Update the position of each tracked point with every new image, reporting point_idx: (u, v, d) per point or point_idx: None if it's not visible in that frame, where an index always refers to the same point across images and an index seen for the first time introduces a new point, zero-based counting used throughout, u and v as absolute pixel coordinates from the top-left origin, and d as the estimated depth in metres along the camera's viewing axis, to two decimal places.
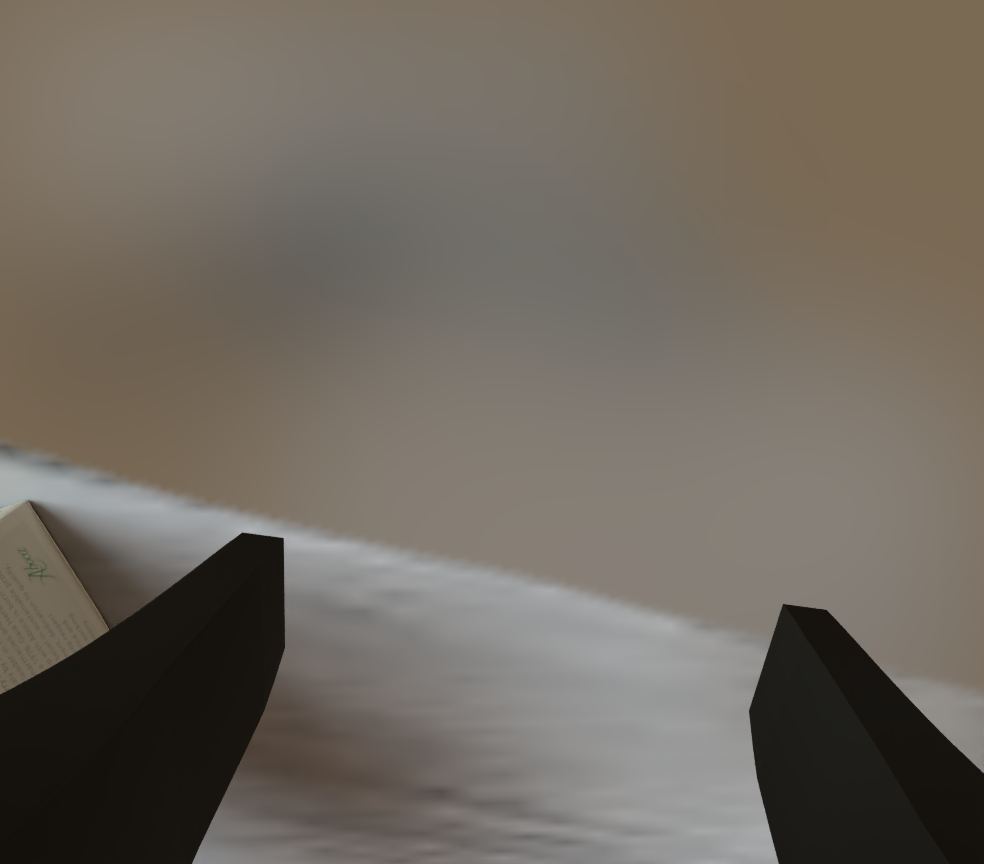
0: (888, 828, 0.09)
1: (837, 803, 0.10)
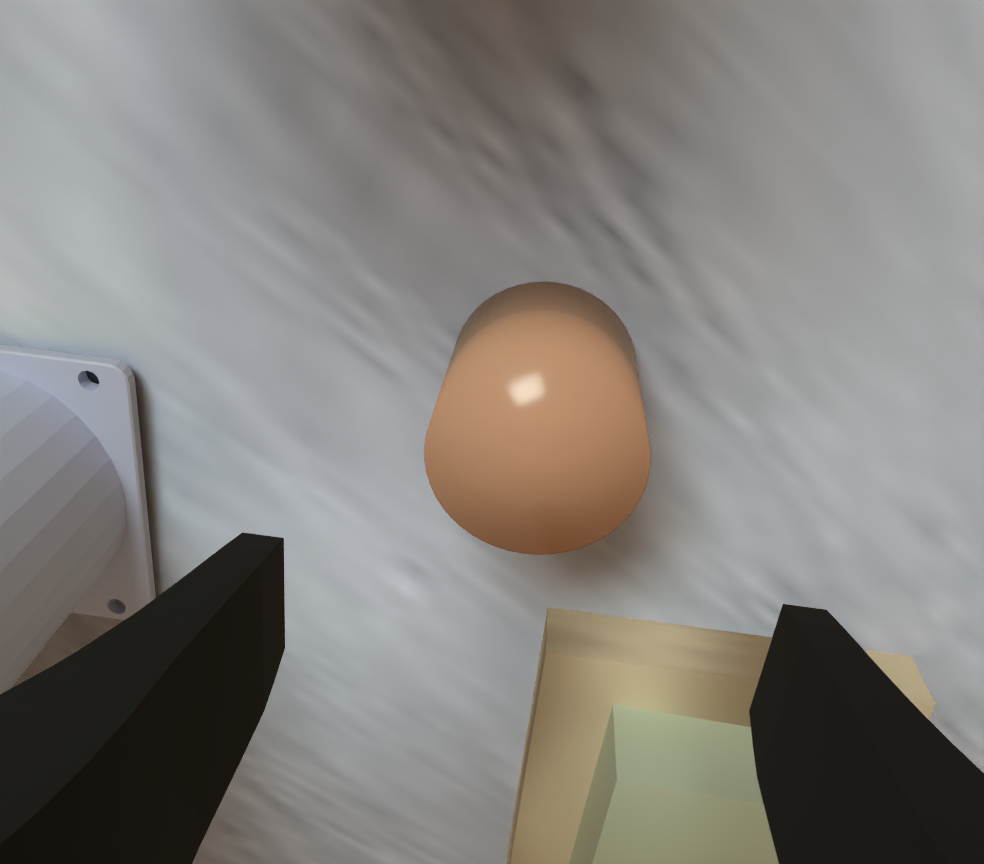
0: (888, 828, 0.09)
1: (837, 803, 0.10)
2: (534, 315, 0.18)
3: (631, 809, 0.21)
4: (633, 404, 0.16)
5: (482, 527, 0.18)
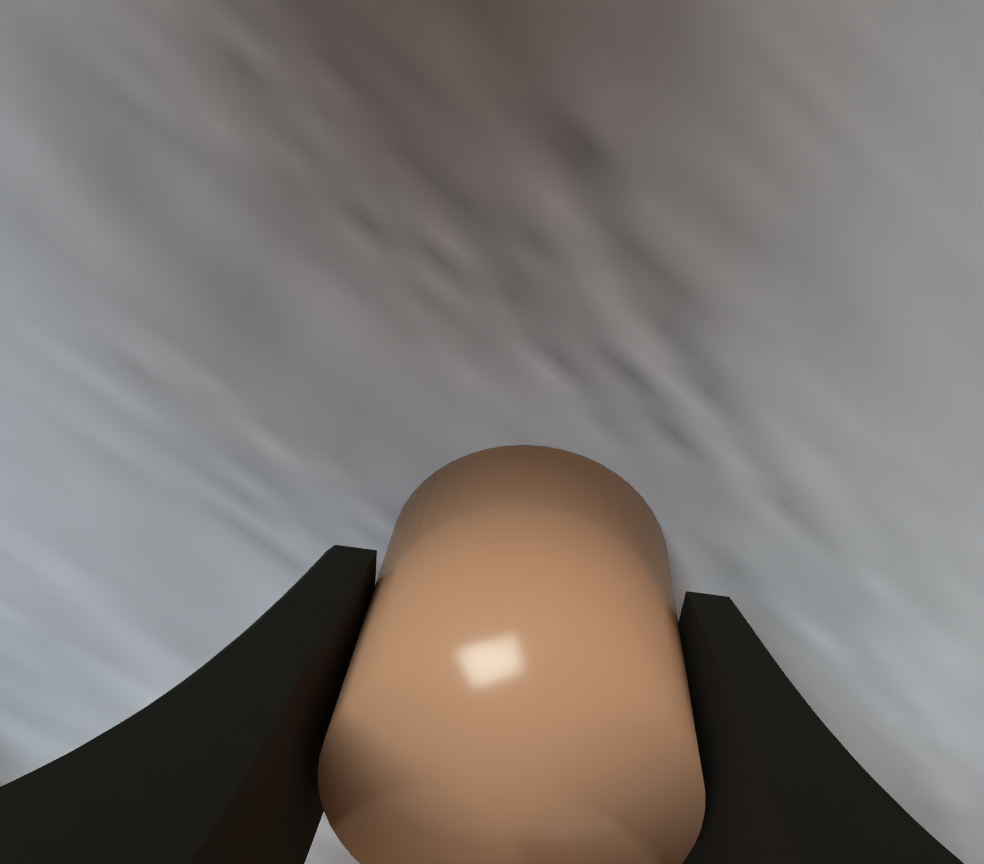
0: (752, 809, 0.09)
1: (719, 786, 0.10)
2: (507, 532, 0.11)
3: None
4: (677, 726, 0.09)
5: None
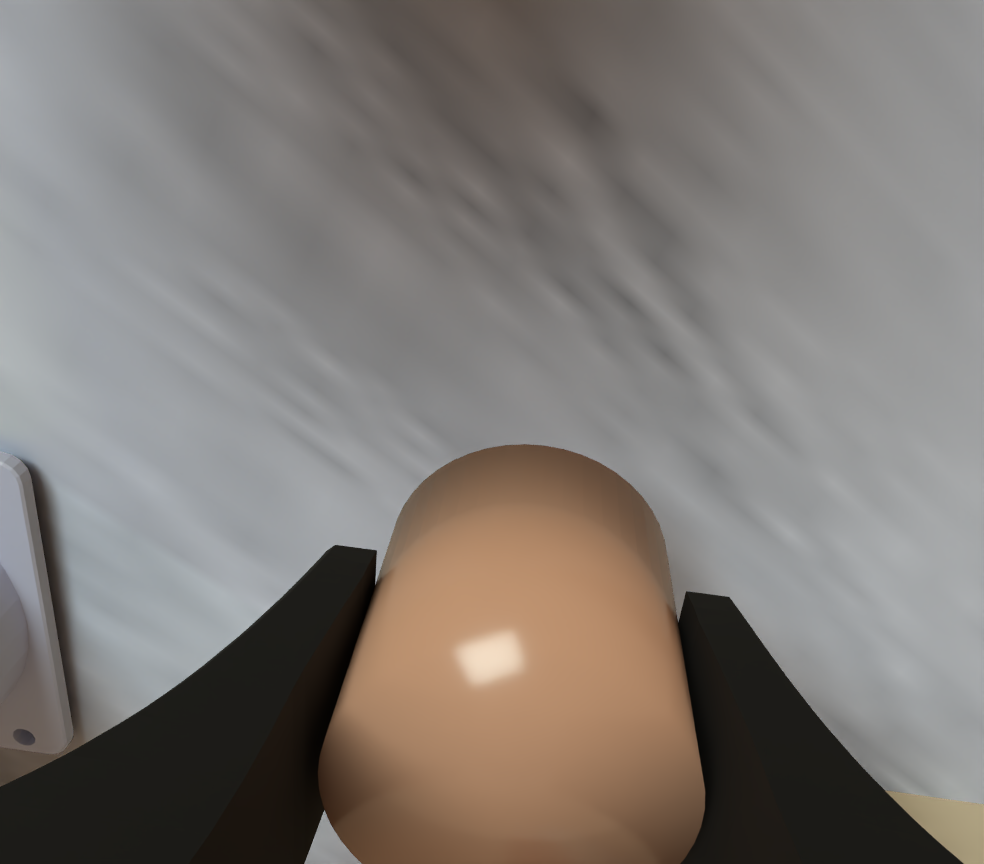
0: (753, 809, 0.09)
1: (719, 786, 0.10)
2: (507, 531, 0.11)
3: None
4: (677, 724, 0.09)
5: None
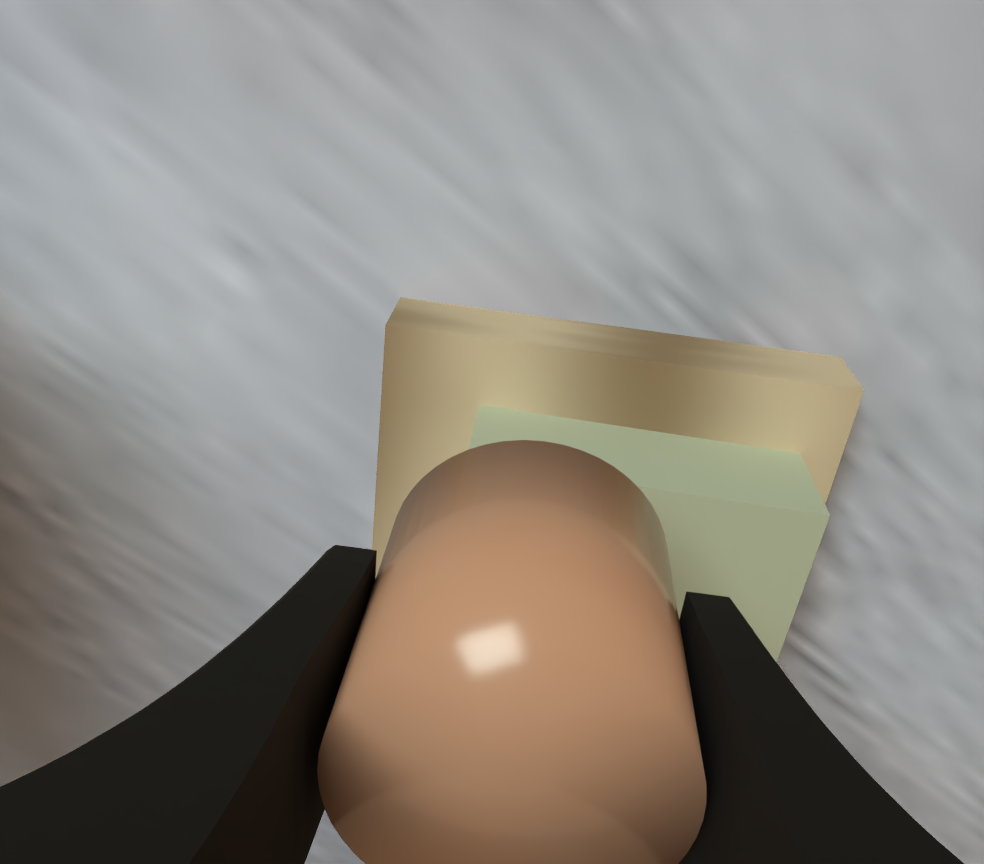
0: (753, 809, 0.09)
1: (720, 786, 0.10)
2: (504, 527, 0.11)
3: None
4: (677, 718, 0.09)
5: None
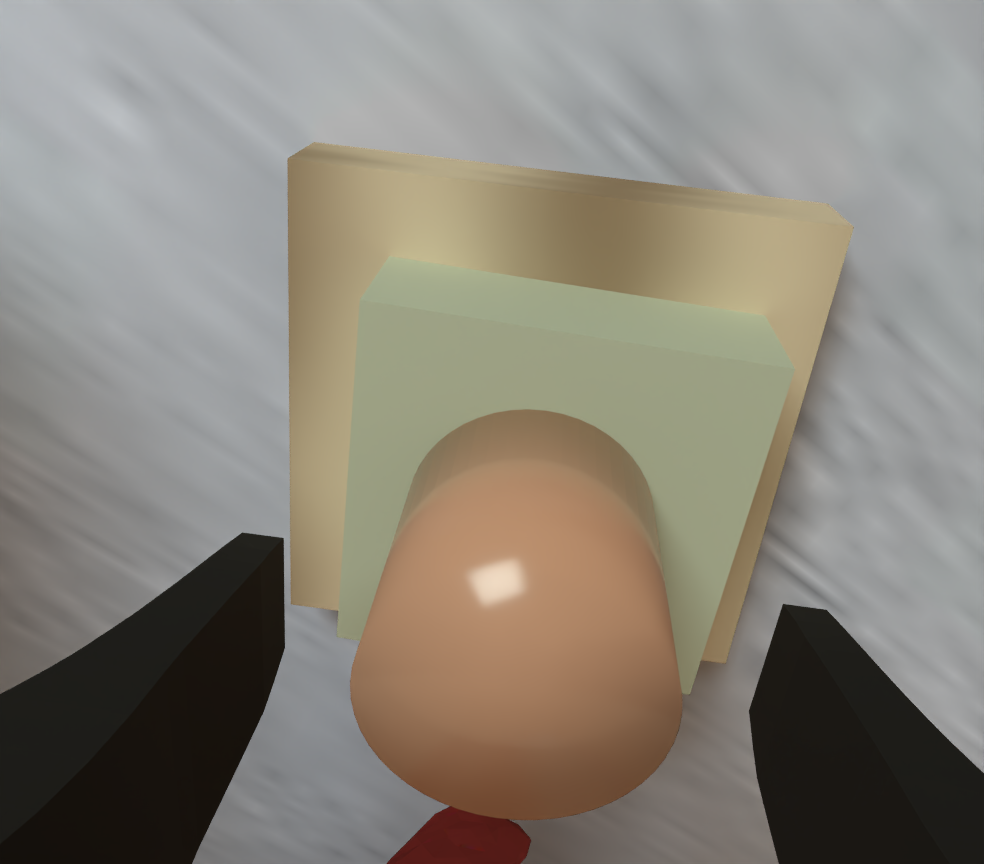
0: (888, 828, 0.09)
1: (838, 803, 0.10)
2: (513, 479, 0.13)
3: (389, 357, 0.14)
4: (658, 636, 0.11)
5: (436, 784, 0.12)
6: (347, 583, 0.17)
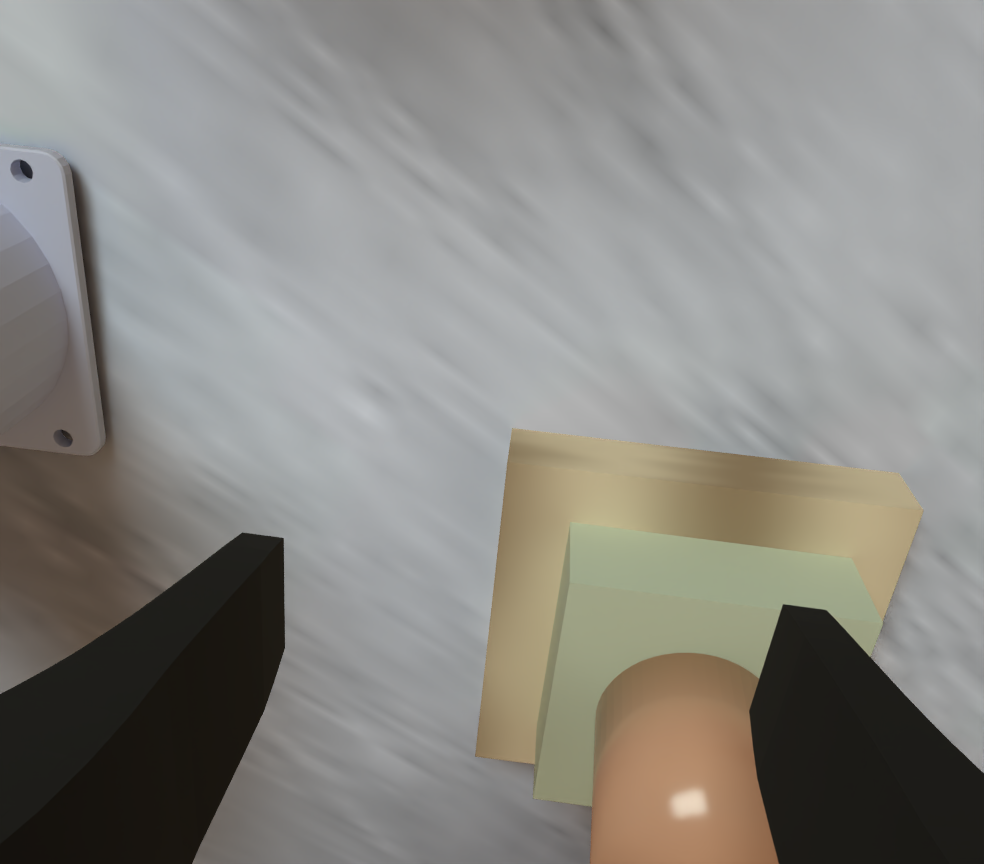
0: (888, 828, 0.09)
1: (838, 803, 0.10)
2: (693, 725, 0.18)
3: (588, 617, 0.20)
4: None
5: None
6: (544, 762, 0.22)
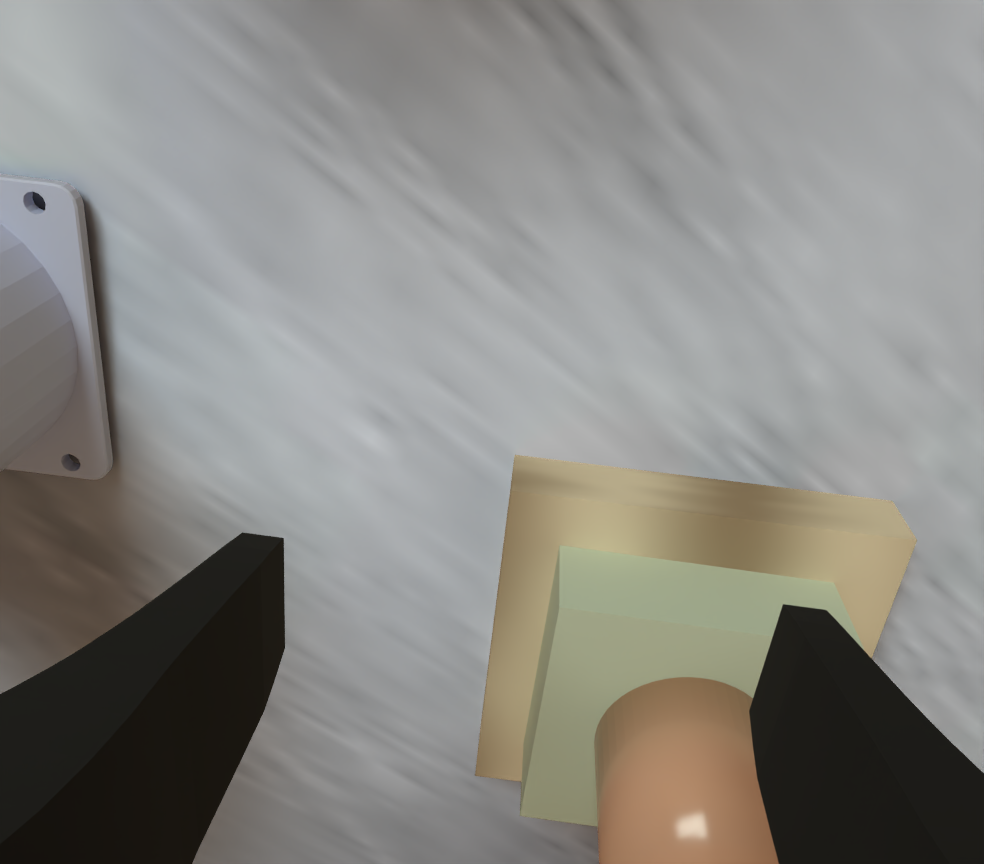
0: (888, 828, 0.09)
1: (838, 803, 0.10)
2: (697, 754, 0.19)
3: (577, 641, 0.21)
4: None
5: None
6: (532, 781, 0.23)
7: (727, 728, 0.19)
